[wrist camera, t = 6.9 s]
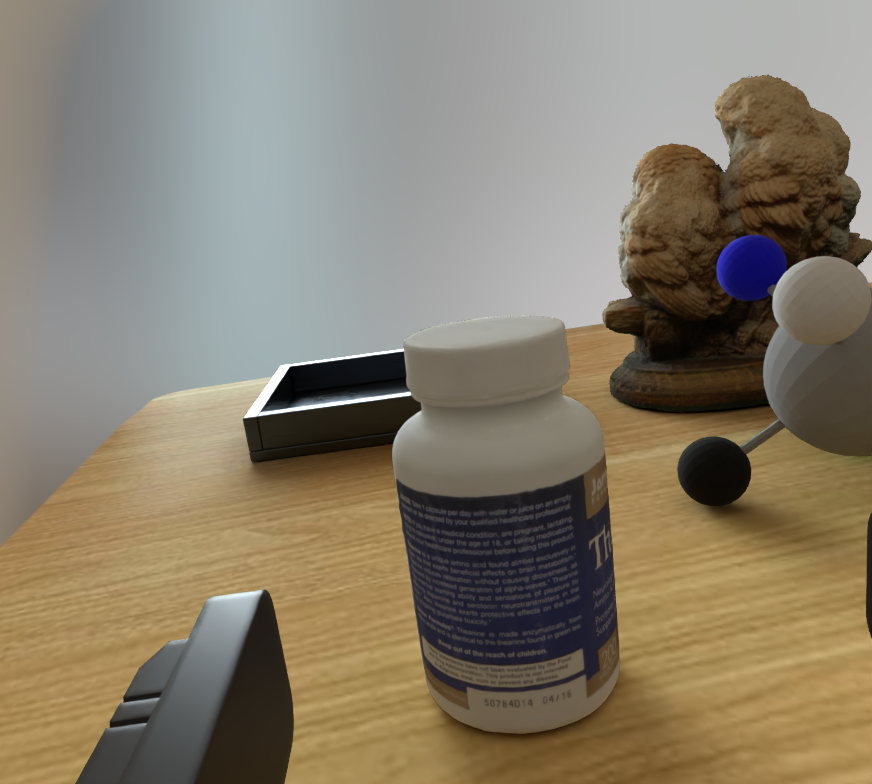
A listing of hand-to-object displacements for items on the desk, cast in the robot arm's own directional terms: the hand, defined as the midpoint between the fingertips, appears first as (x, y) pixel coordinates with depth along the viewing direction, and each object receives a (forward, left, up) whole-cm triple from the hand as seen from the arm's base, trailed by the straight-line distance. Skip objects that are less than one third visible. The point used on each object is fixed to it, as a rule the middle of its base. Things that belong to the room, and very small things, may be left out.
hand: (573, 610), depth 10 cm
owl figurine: (+18, +35, -8) cm, 40 cm away
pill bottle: (0, +9, -8) cm, 12 cm away
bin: (-4, +38, -8) cm, 39 cm away
